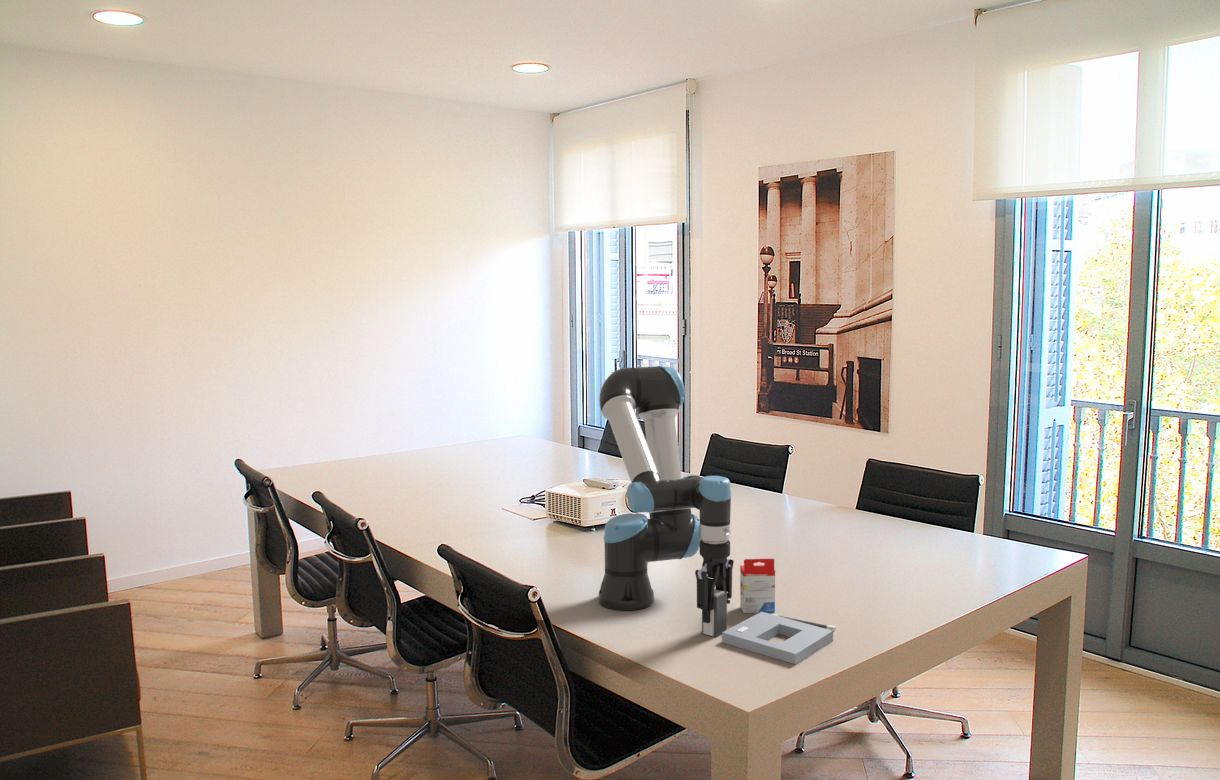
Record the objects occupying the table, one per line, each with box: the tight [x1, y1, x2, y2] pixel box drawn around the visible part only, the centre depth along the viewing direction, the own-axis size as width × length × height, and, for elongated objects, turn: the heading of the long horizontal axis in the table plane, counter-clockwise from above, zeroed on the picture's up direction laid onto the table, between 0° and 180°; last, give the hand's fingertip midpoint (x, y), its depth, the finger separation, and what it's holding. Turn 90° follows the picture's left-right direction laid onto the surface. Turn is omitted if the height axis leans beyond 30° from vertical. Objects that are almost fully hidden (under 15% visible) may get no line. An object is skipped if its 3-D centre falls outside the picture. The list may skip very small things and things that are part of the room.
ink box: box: [739, 558, 776, 614], centre depth 238 cm, size 8×5×15 cm, turn 92°
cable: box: [771, 612, 837, 632], centre depth 229 cm, size 17×1×1 cm, turn 57°
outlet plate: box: [721, 612, 834, 666], centre depth 218 cm, size 20×18×3 cm
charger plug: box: [701, 588, 728, 638], centre depth 223 cm, size 4×4×11 cm
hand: (714, 631), depth 224 cm, fingers closed on charger plug, 4 cm apart
